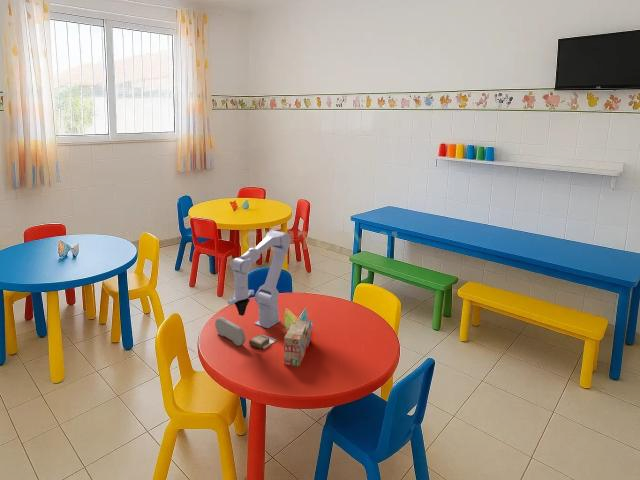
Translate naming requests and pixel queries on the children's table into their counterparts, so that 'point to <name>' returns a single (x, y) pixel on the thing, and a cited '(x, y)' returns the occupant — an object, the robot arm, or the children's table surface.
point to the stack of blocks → (296, 342)
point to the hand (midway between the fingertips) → (241, 314)
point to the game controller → (230, 331)
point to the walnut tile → (259, 341)
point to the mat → (269, 341)
